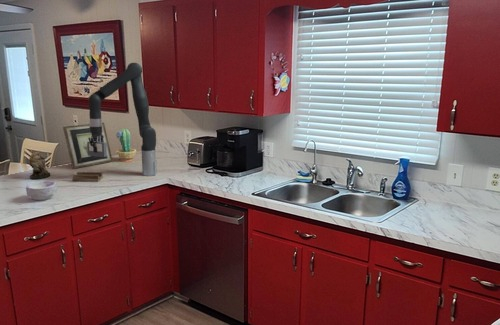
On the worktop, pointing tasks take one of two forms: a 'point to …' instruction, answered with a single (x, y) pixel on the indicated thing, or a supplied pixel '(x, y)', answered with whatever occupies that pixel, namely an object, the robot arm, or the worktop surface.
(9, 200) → the worktop surface
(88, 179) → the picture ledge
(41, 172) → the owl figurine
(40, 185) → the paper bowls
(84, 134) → the picture frame
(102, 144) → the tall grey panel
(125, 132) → the potted cactus
